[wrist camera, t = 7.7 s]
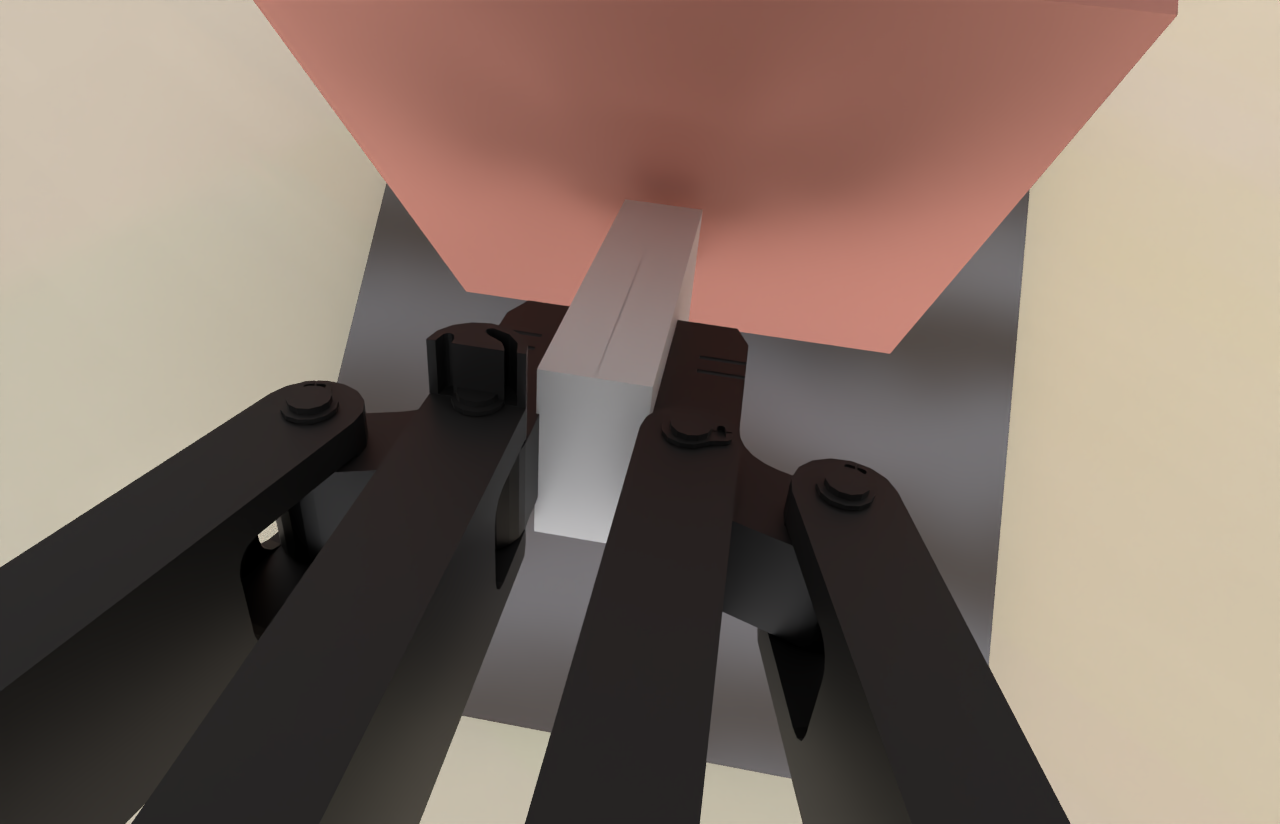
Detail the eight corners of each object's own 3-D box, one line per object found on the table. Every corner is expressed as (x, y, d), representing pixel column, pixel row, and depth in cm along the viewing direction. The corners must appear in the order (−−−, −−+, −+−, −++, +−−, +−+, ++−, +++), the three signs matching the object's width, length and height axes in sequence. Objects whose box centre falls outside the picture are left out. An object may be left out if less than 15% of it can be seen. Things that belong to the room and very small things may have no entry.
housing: (963, 804, 24) (1617, 1302, 7) (280, 674, 25) (-489, 827, 9) (1040, -61, 29) (1509, -927, 13) (474, -120, 31) (227, -950, 14)
